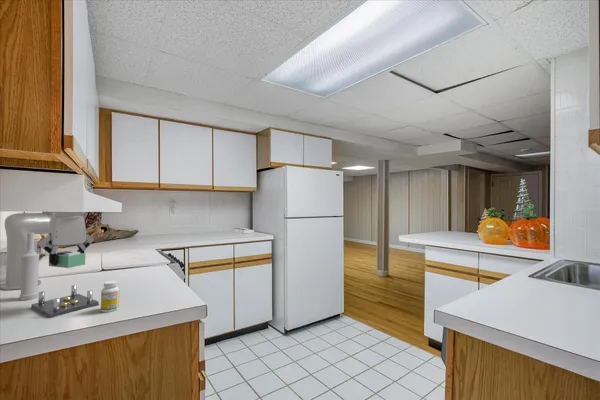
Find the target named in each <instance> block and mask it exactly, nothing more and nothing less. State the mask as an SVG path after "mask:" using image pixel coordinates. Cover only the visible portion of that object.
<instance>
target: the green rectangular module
mask: <svg viewBox="0 0 600 400" xmlns="http://www.w3.org/2000/svg"><path fill="white" fill-rule="evenodd" d="M56 254H57V265H55V266H54V265H51V263H49V262H48V267H55V268H64V269H70V268H71V269H72V268H76V267H80V266H83V265H84V266H85V265H86V253H85V252H84V253H80V252H77V251H75V252H74V251H67V250H65V251H58V252H57V251H56Z"/></svg>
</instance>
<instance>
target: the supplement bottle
mask: <svg viewBox="0 0 600 400" xmlns="http://www.w3.org/2000/svg"><path fill="white" fill-rule="evenodd" d="M118 283H119V282H118V281H117V280H108V281H104V282H103V288H102V289H101V290H100V294H101V295H100V311H101V312H103V313H111V312H115V311H117V310H119V308H120V287H119V286H118V285H119V284H118Z"/></svg>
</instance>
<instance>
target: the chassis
mask: <svg viewBox="0 0 600 400" xmlns="http://www.w3.org/2000/svg"><path fill="white" fill-rule="evenodd" d="M70 289H71V290H70V295H67V296H62V297H55V298H53V299H49V300H45V299H46V297H45V296H46V291H38V300H37V301H38V302H35V303H31V307H30V308H32V309H33V310H34V311H37V312H38V313H41V314H42V315H44V316H46V317H48V318H51V319H52V318H55V317H58V316H62V315H66V314H70V313H74V312H76V311H81V310H84V309H90V308H91V307H96V306H99V304H100V303H99V301H98V300H95V299H93V297H94V296H93V295H94V294H93V290H87V291H86V296H85V295H83V294H80V293H77V292H78V291H77V290H78V289H77V284H73V285H71V286H70Z"/></svg>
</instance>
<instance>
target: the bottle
mask: <svg viewBox="0 0 600 400" xmlns="http://www.w3.org/2000/svg"><path fill="white" fill-rule="evenodd" d="M34 241H35V234H34V233H27V251H25V253H24V254H23V255H21V289H20V294H19V300H20V301H30V300H34V299H35V300H36V299H37V298H39V291H38V286H39V285H38V280H39V267H40V266H39V264H40V254H39V253H38V252H37V253H36V252H35V250H34Z"/></svg>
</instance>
